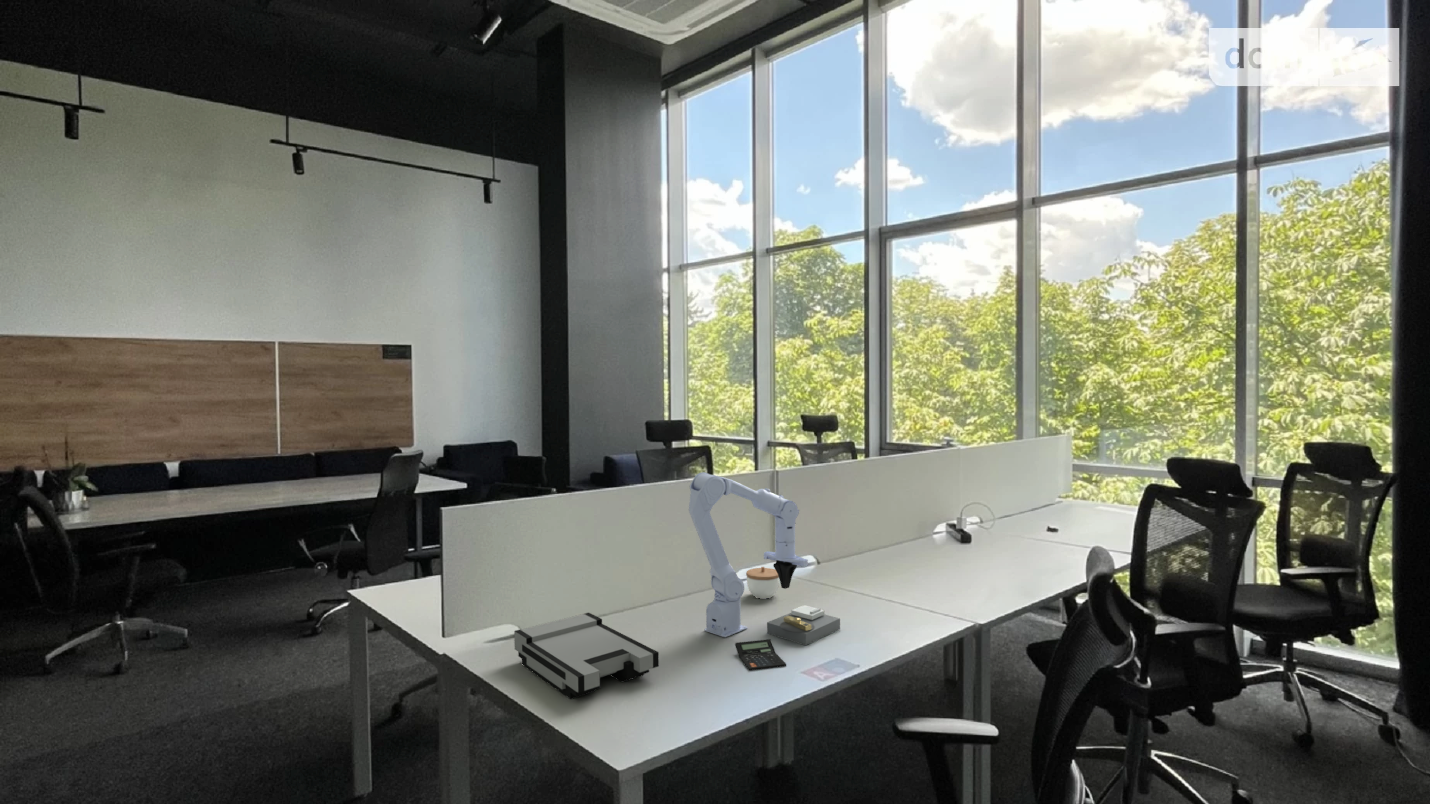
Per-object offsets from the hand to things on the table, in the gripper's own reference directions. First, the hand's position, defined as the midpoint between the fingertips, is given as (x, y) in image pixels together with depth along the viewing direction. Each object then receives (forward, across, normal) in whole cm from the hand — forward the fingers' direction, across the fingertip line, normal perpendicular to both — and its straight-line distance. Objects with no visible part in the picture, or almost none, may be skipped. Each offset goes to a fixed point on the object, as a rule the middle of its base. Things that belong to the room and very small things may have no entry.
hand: (785, 587), depth 201 cm
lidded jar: (+10, +19, -13) cm, 25 cm away
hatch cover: (+6, -8, 0) cm, 10 cm away
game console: (+10, +13, +61) cm, 63 cm away
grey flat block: (+9, -9, +4) cm, 14 cm away
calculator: (+10, -13, +27) cm, 31 cm away
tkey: (+6, -11, +9) cm, 15 cm away
